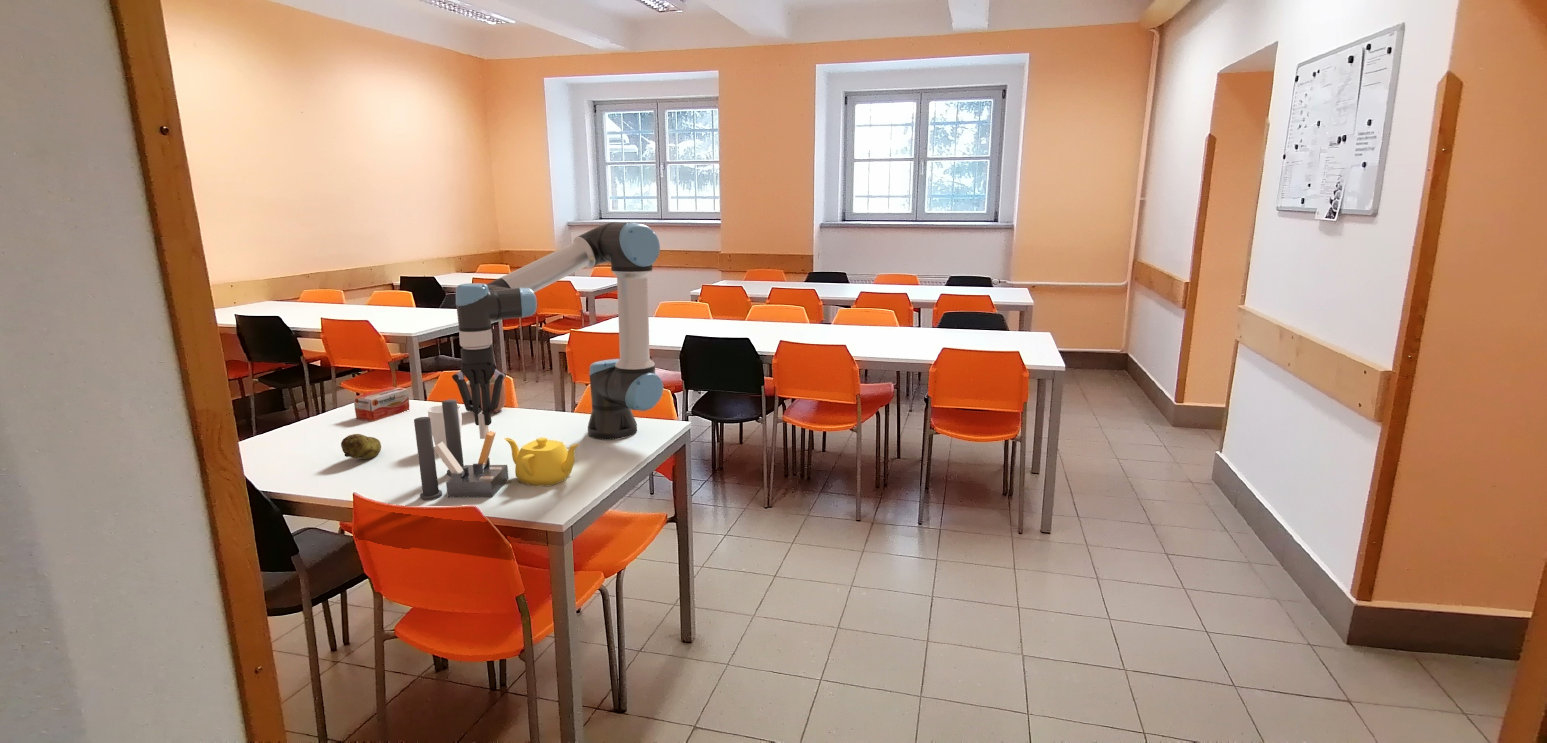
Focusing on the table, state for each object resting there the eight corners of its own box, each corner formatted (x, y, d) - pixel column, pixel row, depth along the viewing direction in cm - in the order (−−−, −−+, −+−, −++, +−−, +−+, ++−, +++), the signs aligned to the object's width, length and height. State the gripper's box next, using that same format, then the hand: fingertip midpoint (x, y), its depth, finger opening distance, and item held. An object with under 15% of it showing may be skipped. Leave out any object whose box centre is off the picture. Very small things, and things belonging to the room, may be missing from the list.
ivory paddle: (466, 473, 189) (443, 440, 187) (461, 478, 186) (437, 444, 184) (461, 476, 189) (437, 443, 187) (456, 481, 186) (432, 448, 184)
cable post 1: (445, 492, 189) (436, 415, 185) (437, 499, 185) (427, 421, 180) (425, 492, 189) (416, 416, 185) (416, 500, 185) (406, 422, 180)
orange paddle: (486, 466, 195) (496, 432, 193) (481, 471, 192) (491, 436, 190) (480, 464, 195) (490, 430, 193) (475, 469, 192) (485, 434, 190)
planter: (461, 415, 255) (458, 384, 252) (481, 405, 267) (478, 375, 264) (495, 417, 253) (492, 385, 250) (513, 407, 265) (511, 377, 262)
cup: (452, 453, 218) (448, 413, 215) (425, 451, 219) (420, 412, 217) (471, 443, 226) (467, 405, 224) (444, 441, 228) (439, 403, 225)
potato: (394, 453, 218) (391, 426, 217) (355, 467, 207) (351, 440, 205) (373, 449, 222) (370, 423, 220) (334, 463, 210) (330, 436, 208)
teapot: (487, 486, 193) (483, 446, 190) (521, 465, 207) (518, 428, 205) (564, 494, 187) (560, 453, 185) (594, 472, 202) (591, 434, 199)
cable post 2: (470, 469, 205) (462, 398, 200) (462, 476, 200) (454, 403, 195) (451, 469, 205) (443, 398, 200) (444, 476, 200) (435, 403, 195)
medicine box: (372, 422, 249) (369, 399, 247) (355, 419, 252) (352, 396, 250) (410, 410, 262) (408, 388, 260) (394, 408, 266) (391, 386, 264)
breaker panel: (508, 479, 198) (506, 456, 196) (492, 497, 186) (489, 473, 185) (466, 479, 198) (464, 457, 196) (447, 497, 186) (445, 473, 185)
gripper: (507, 343, 190) (514, 432, 195) (456, 343, 190) (465, 432, 195) (497, 349, 183) (504, 441, 188) (444, 349, 183) (453, 441, 188)
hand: (484, 437), depth 192 cm, fingers closed
